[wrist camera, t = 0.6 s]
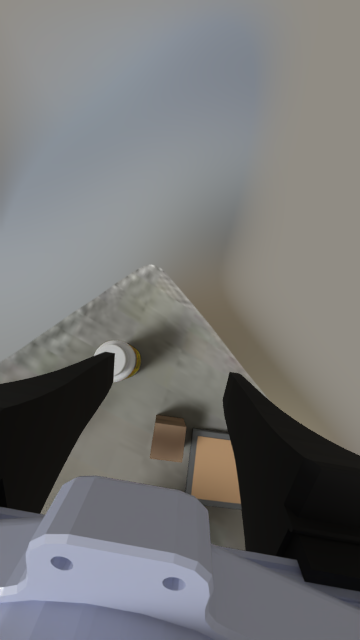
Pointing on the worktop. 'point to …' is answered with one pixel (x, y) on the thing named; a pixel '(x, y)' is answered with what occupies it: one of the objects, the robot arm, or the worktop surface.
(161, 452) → the cube
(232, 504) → the coaster
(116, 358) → the supplement bottle
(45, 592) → the robot arm
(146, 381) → the worktop surface
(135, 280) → the worktop surface
